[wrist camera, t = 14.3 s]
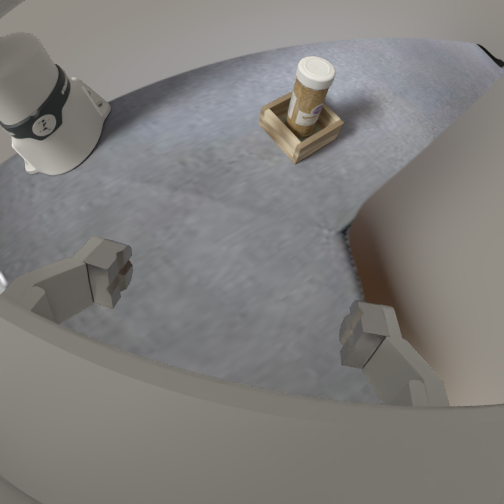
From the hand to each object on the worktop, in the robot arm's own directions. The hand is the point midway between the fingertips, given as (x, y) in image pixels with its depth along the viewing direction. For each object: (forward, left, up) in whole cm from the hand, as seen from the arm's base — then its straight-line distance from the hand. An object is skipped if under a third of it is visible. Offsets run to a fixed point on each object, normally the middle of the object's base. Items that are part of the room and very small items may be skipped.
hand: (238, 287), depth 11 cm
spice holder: (-16, +23, -29) cm, 40 cm away
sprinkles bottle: (-16, +23, -28) cm, 40 cm away
